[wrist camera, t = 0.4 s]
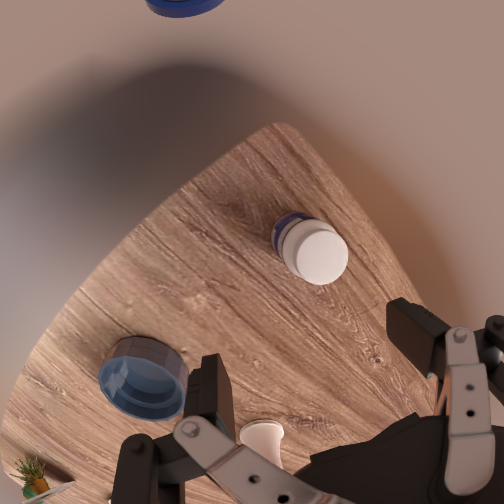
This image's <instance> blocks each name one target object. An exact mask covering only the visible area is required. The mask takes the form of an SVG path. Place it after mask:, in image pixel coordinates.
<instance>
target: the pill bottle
mask: <svg viewBox="0 0 504 504" xmlns="http://www.w3.org/2000/svg"><path fill="white" fill-rule="evenodd" d="M271 242H272V246H273V248H274V250H275V252H276V253H277V254H278V256H279V257H280V258H281V260H282V261H283V262H284V264H285V265H286V267H287V268H288V269H289V270H290V271H291V272H292V273H293V274H295V275H296V276H298V277H301V278H304V279H305V280H306V281H307V282H309V283H312V284H316V285H324V284H328V283H331V282H333V281H334V280H336V279H337V278H338V277H339V276H340V275H341V274H342V273H343V271H344V270H345V268H346V265H347V261H348V249H347V246H346V244H345V242H344V240H343V239H342V238H341V237H340V236H339V235H338V234H337V233H336V231H335V230H334V229H333V228H332V227H331V226H330V225H329V224H327V223H326V222H324V221H321V220H319V219H316V218H314V217H311V216H309V215H306V214H304V213H300V212H292V213H288V214H286V215H284V216H282V217H281V218H280V219H279V220H278V221H277V222H276V223H275V225H274V227H273V229H272V233H271Z"/></svg>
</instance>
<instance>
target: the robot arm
mask: <svg viewBox="0 0 504 504" xmlns="http://www.w3.org/2000/svg"><path fill="white" fill-rule="evenodd" d="M164 1H168V2H185V1H191V0H164ZM386 331H387V335H388V338H389V339H390V341H391V342H392V343H393V344H394V345H395V346H396V347H397V348H398V349H399V350H400V351H401V352H402V353H403V354H404V356H405V357H406V358H407V359H408V360H409V361H410V362H411V363H412V364H413V365H414V366H415V367H416V368H417V369H418V370H419V371H420V372H421V374H422V375H423V376H424V377H425V378H426V379H428V378H430V377H432V376H433V375H436V376H437V380H436V393H435V406H434V414H433V415H432V416H425V417H421V418H420V417H419V416H418V415H417V413H416V412H414V413H412V414H411V415H409V416H407V417H405V418H403V419H401V420H399V421H397V422H395V423H393V424H391V425H390V426H389V427H388V428H386V429H385V430H384V431H382V432H381V433H380V434H378V435H377V436H375V437H374V438H373V439H371V440H369V441H366V442H361V443H356V444H350V445H344V446H338V447H335V448H332V449H329V450H326V451H323V452H320V453H317V454H313V455H310V460H311V463H309V464H308V465H306V466H304V467H303V468H301V469H300V470H298V471H297V472H296V473H295V474H293V475H291V474H290V473H288V472H286V471H285V470H283V469H281V468H280V467H278V466H277V465H275V464H273V463H272V462H270V461H269V460H267V459H266V458H264V457H263V456H261V455H260V454H258V453H257V452H255V451H254V450H252V449H251V448H249V447H248V446H246V445H244V444H241V445H238V444H236V437H235V424H234V411H233V397H232V387H231V383H230V379H229V377H228V374H227V372H226V369H225V367H224V364H223V362H222V359H221V357H220V354H219V353H216V354H212V355H207V356H202V362H201V368H198V369H193V371H192V372H191V374H190V375H189V377H188V382H187V390H186V397H185V405H184V414H183V419H182V420H180V421H179V422H178V423H177V424H176V425H175V427H174V429H173V432H172V433H170V434H168V435H165V436H162V437H159V438H156V439H153V440H152V438H151V437H150V436H148V435H146V434H142V433H139V434H134V435H132V436H130V437H128V438H127V439H126V440H125V441H124V442H123V443H122V445H121V449H120V454H119V459H118V464H117V469H116V474H115V480H114V486H113V492H112V498H111V504H185V482H186V481H189V480H191V479H194V478H197V477H200V476H203V475H205V476H206V477H207V478H209V479H210V480H211V481H212V482H213V483H214V484H215V485H216V486H217V487H218V488H219V489H221V490H222V491H223V492H224V493H225V494H226V495H227V496H229V497H230V498H231V499H232V500H233V501H234V502H235V503H237V504H504V427H502V426H495V425H491V412H490V398H489V390H490V391H491V392H492V394H493V395H494V396H495V397H496V398H497V399H498V400H499V401H500V402H501V403H502V405H503V406H504V363H503V362H502V361H501V358H502V355H503V353H504V316H501V315H494V316H491V317H489V318H488V319H487V320H486V324H485V328H484V329H480V330H477V331H474V332H473V331H472V330H471V329H469V328H467V327H464V326H456V327H450V326H449V325H448V324H446V323H445V322H443V321H442V320H441V319H440V318H438V317H437V316H434V314H433V313H431V312H429V311H428V310H427V309H426V308H424V307H423V306H421V305H418V304H415V303H410V302H408V301H407V300H405V299H404V298H402V297H400V298H398V299H395V300H393V301H390V302H388V303H387V305H386Z"/></svg>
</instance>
